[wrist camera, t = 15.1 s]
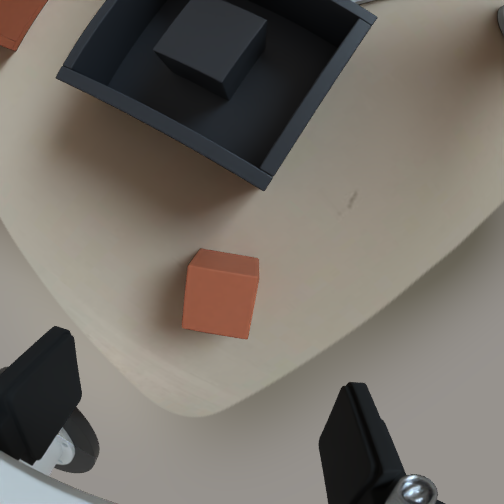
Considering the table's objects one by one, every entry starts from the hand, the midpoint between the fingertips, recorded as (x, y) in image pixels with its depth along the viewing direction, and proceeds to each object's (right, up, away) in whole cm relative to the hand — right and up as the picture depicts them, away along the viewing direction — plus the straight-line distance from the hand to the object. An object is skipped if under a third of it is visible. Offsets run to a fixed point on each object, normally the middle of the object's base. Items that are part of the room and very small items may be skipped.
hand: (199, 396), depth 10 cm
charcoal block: (0, +17, +8) cm, 19 cm away
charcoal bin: (0, +17, +9) cm, 19 cm away
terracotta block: (0, +3, +12) cm, 13 cm away
